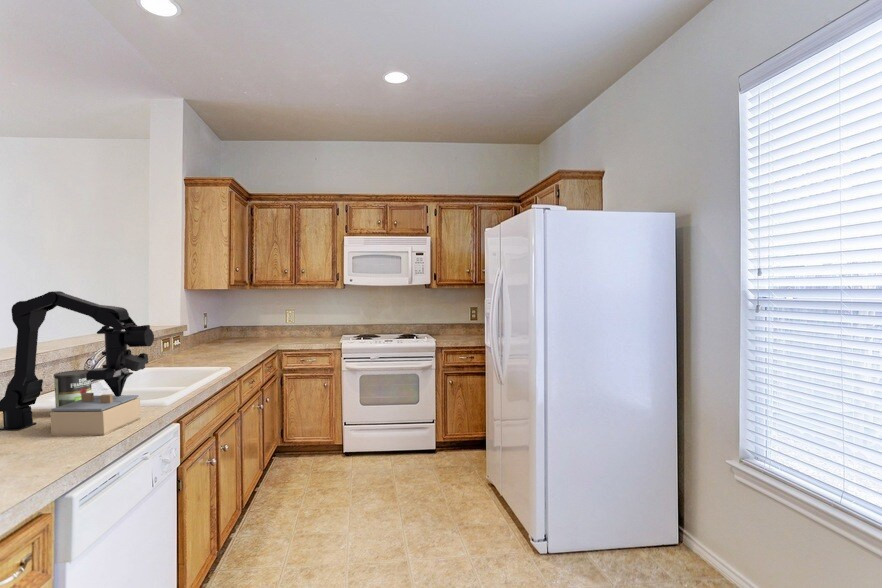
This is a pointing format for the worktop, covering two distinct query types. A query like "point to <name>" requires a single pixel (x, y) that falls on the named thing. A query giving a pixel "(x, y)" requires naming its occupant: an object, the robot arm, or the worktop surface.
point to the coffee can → (70, 386)
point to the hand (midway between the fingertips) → (118, 396)
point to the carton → (95, 420)
